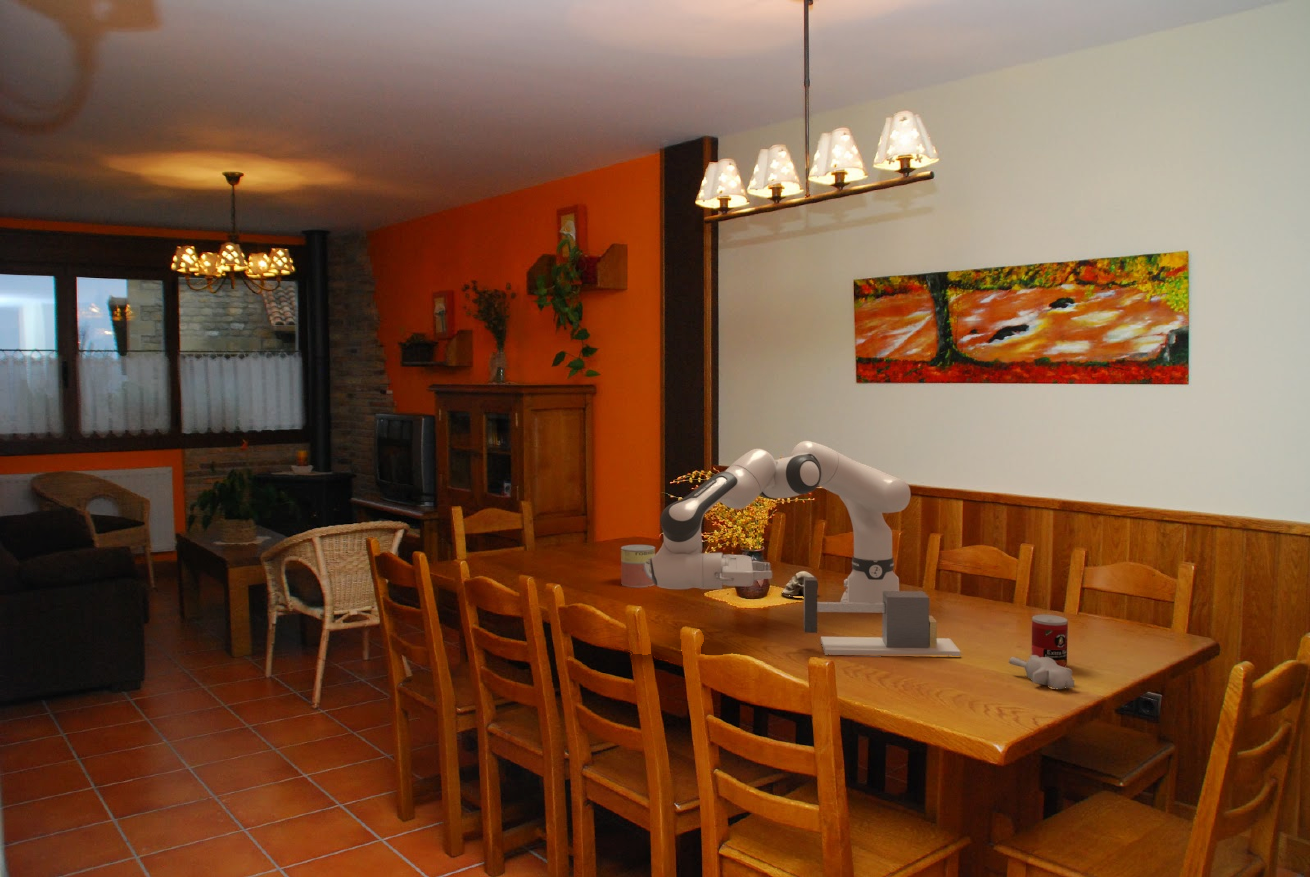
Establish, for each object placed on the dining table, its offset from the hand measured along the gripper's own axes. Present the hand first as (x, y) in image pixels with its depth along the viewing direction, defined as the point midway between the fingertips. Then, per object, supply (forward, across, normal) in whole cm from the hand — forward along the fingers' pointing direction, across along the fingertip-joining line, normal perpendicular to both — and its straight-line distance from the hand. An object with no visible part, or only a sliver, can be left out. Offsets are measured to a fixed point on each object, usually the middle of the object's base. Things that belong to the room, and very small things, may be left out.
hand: (771, 570), depth 244 cm
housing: (+32, 0, +20) cm, 38 cm away
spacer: (+39, 0, +19) cm, 43 cm away
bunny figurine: (+58, -24, +21) cm, 66 cm away
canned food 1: (-40, +76, +20) cm, 88 cm away
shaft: (+22, 0, +15) cm, 27 cm away
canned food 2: (+63, -12, +21) cm, 68 cm away
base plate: (+28, 0, +20) cm, 35 cm away
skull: (+11, +60, +21) cm, 65 cm away
